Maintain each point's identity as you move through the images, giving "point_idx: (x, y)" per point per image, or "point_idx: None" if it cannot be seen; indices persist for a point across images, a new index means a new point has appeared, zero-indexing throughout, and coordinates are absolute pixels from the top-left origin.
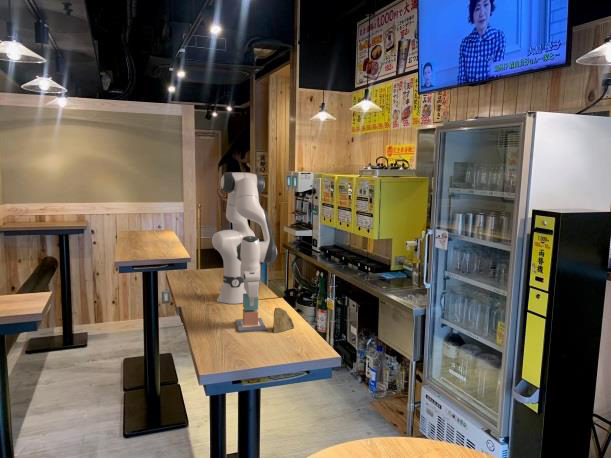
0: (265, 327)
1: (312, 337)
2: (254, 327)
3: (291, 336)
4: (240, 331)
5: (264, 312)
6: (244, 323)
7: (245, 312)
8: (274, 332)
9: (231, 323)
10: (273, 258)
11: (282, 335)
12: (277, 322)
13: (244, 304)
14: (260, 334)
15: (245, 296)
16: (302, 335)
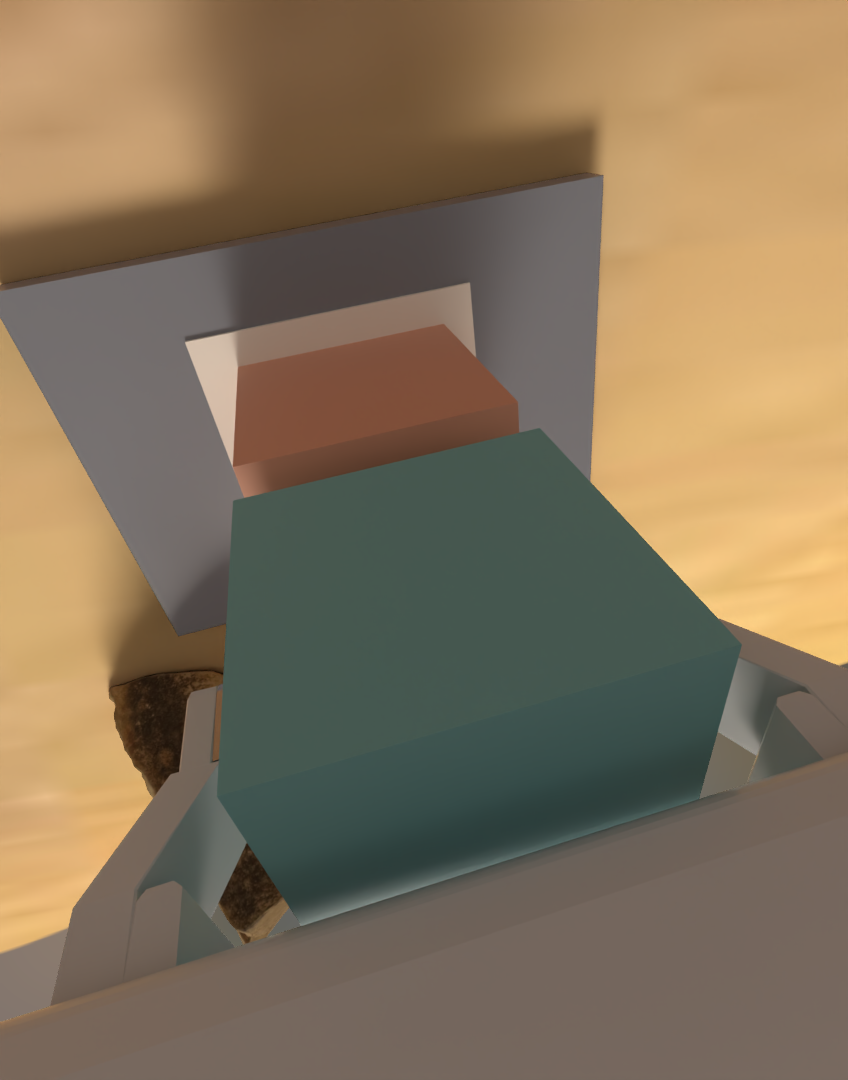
0: (214, 622)
1: (69, 910)
2: (196, 509)
3: (47, 813)
4: (8, 317)
5: (811, 514)
6: (239, 383)
7: (259, 486)
8: (110, 698)
9: (498, 100)
10: None
11: (54, 757)
12: (154, 796)
13: (232, 588)
14: (17, 581)
15: (299, 803)
16: (102, 861)
